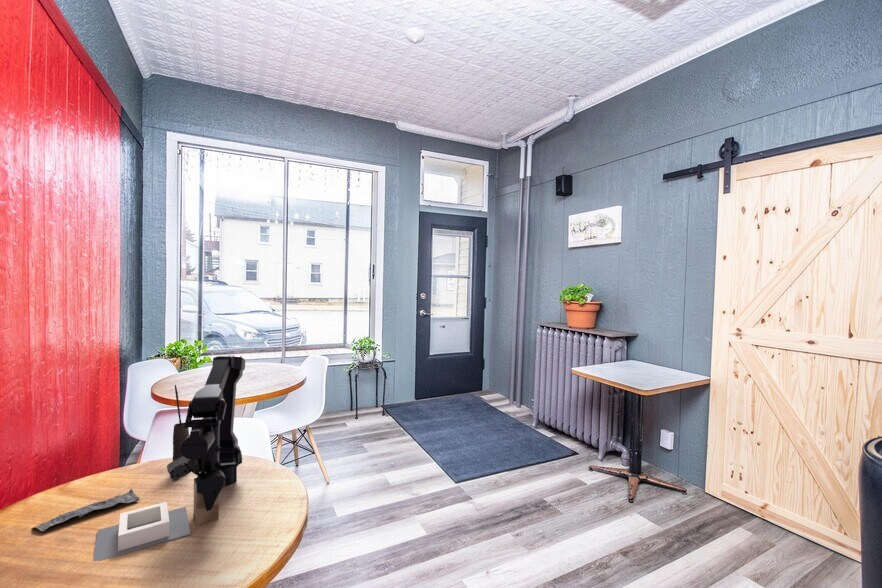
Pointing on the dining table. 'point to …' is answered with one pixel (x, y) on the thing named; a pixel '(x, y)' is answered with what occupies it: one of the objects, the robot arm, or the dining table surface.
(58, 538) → the dining table surface
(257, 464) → the dining table surface
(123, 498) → the grey flat stone bar
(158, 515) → the square frame on plate
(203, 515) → the wooden block
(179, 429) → the butter churn
